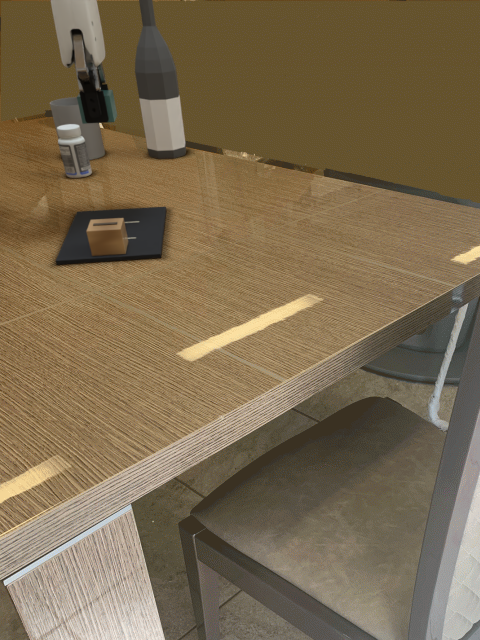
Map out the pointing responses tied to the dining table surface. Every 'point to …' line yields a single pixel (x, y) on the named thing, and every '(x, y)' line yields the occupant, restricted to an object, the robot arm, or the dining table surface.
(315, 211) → the dining table surface
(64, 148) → the pill bottle
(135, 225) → the mat
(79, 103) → the teal block
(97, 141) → the cup
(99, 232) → the maple block
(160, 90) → the wine bottle
